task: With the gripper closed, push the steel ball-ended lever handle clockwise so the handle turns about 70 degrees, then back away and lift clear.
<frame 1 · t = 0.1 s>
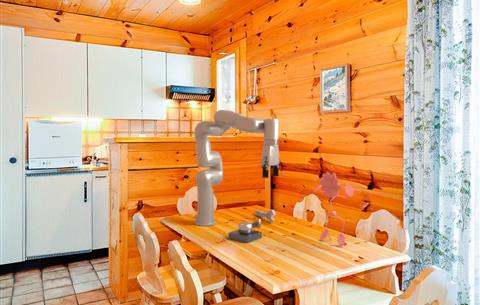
hand: (270, 176, 182), 31 cm above the table, tool pointing down, fingers open, 9 cm apart
wrench: (264, 219, 224), on the table
ball-ended lever handle: (250, 225, 185), point 5 cm above the table, hinge at 0.0°
figurine: (328, 244, 172), on the table
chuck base: (245, 238, 182), on the table
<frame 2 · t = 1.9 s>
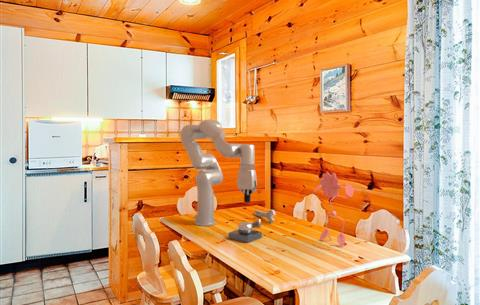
hand: (247, 201, 191), 17 cm above the table, tool pointing down, fingers closed
nothing on the table moved.
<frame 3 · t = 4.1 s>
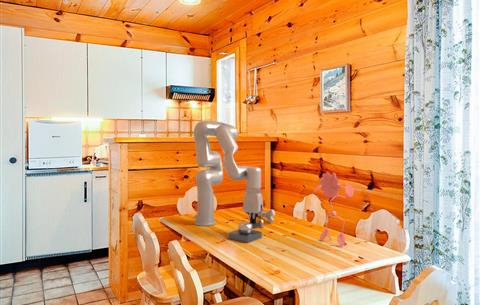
hand: (253, 225, 189), 5 cm above the table, tool pointing down, fingers closed
ball-ended lever handle: (251, 225, 185), point 6 cm above the table, hinge at 9.2°, touching gripper
everything else where it was.
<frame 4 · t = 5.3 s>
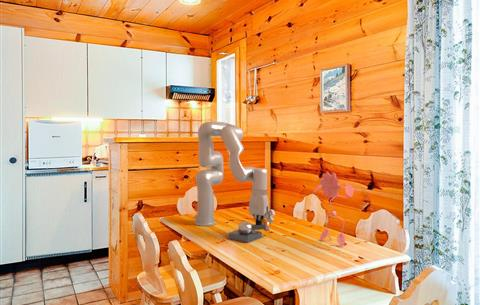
hand: (258, 227, 186), 4 cm above the table, tool pointing down, fingers closed
ball-ended lever handle: (254, 226, 183), point 6 cm above the table, hinge at 36.4°, touching gripper
everything else where it was.
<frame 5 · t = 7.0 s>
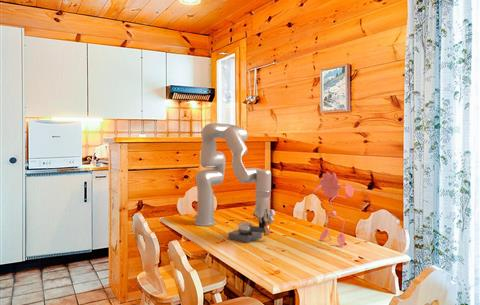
hand: (262, 230, 181), 4 cm above the table, tool pointing down, fingers closed
ball-ended lever handle: (253, 228, 180), point 5 cm above the table, hinge at 76.0°, touching gripper
everything else where it was.
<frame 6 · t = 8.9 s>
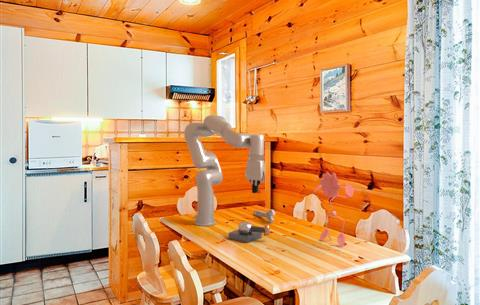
hand: (255, 192, 189), 22 cm above the table, tool pointing down, fingers closed
ball-ended lever handle: (253, 228, 179), point 6 cm above the table, hinge at 76.1°
everything else where it was.
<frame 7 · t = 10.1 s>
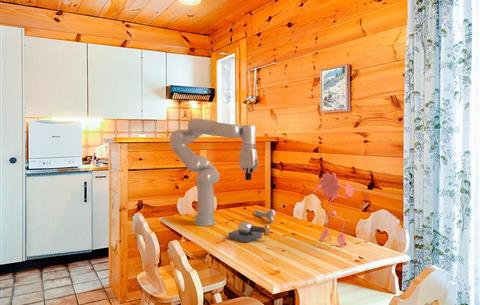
hand: (248, 180, 201), 27 cm above the table, tool pointing down, fingers closed
nothing on the table moved.
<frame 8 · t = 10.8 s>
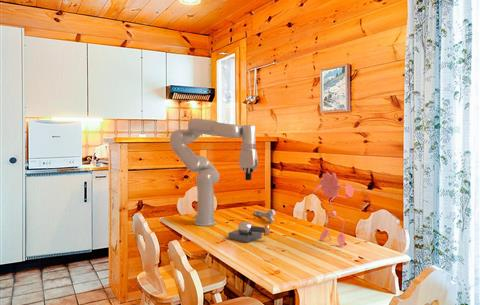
hand: (248, 180, 201), 27 cm above the table, tool pointing down, fingers closed
nothing on the table moved.
at the end: ball-ended lever handle at +76° (first picture: +0°); wrench moved 0.6 cm from its start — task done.
